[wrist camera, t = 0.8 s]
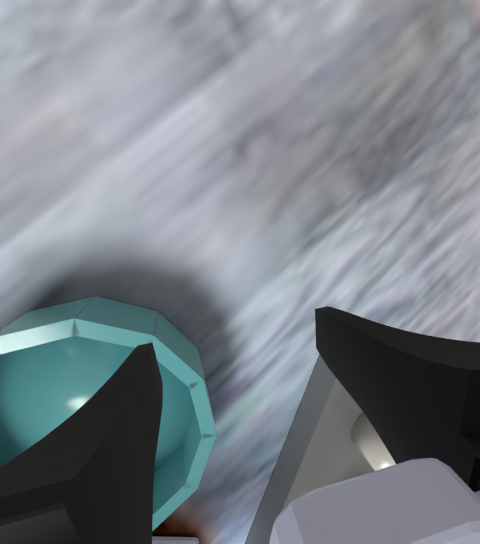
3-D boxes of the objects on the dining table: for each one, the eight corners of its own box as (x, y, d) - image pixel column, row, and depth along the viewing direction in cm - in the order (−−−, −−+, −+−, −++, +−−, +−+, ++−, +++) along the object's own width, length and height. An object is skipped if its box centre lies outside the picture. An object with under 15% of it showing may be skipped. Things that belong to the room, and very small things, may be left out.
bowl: (172, 499, 25) (172, 558, 21) (-53, 486, 20) (-114, 559, 16) (232, 328, 23) (245, 355, 19) (-3, 272, 18) (-57, 289, 14)
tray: (368, 552, 32) (386, 585, 30) (241, 552, 28) (249, 590, 25) (446, 383, 30) (475, 401, 27) (320, 353, 25) (338, 371, 22)
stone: (379, 450, 28) (411, 487, 25) (344, 445, 27) (371, 483, 23) (396, 412, 28) (431, 443, 24) (361, 405, 27) (392, 437, 23)
